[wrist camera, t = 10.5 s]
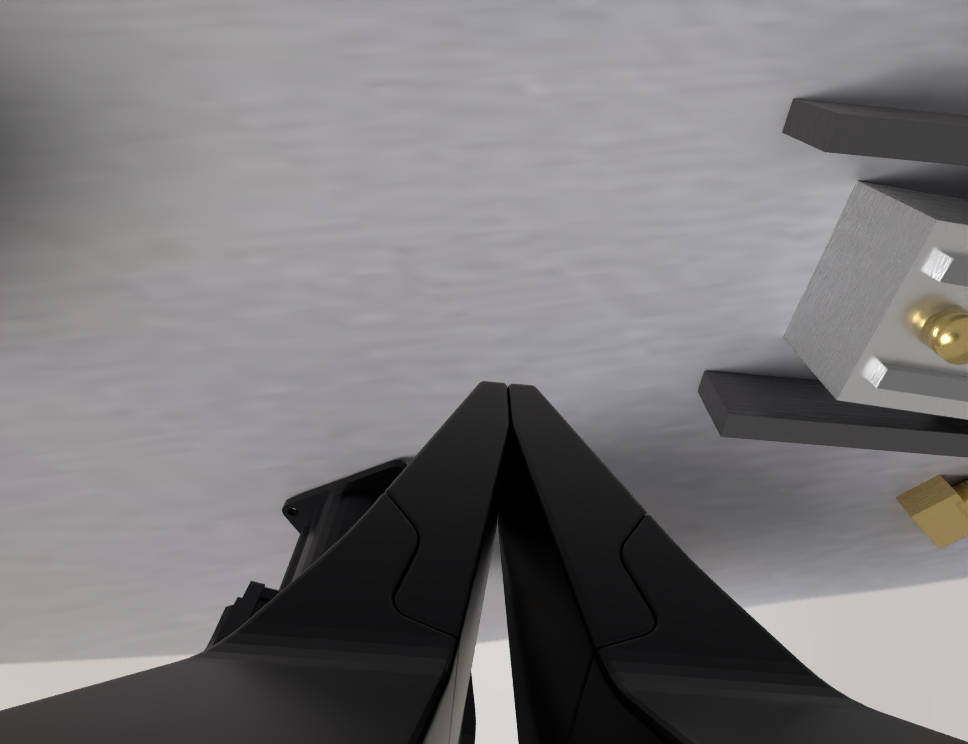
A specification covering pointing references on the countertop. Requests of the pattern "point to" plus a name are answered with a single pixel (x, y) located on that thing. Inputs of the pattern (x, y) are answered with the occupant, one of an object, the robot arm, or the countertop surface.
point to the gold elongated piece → (939, 509)
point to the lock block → (891, 303)
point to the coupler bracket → (807, 403)
